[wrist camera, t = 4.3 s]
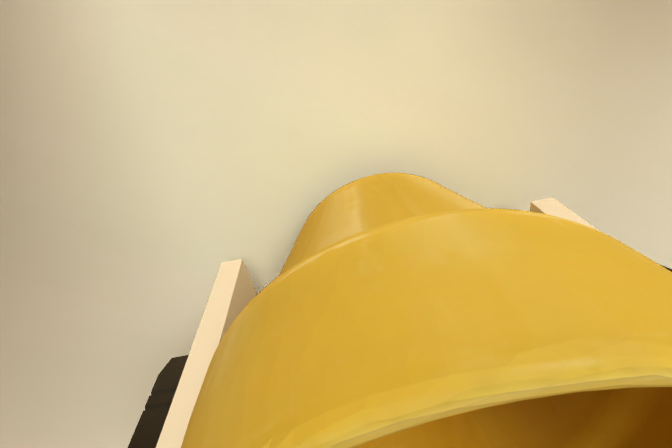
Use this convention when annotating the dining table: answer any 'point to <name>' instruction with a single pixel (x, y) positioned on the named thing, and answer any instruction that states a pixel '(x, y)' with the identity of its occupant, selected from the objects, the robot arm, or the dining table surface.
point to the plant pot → (444, 333)
